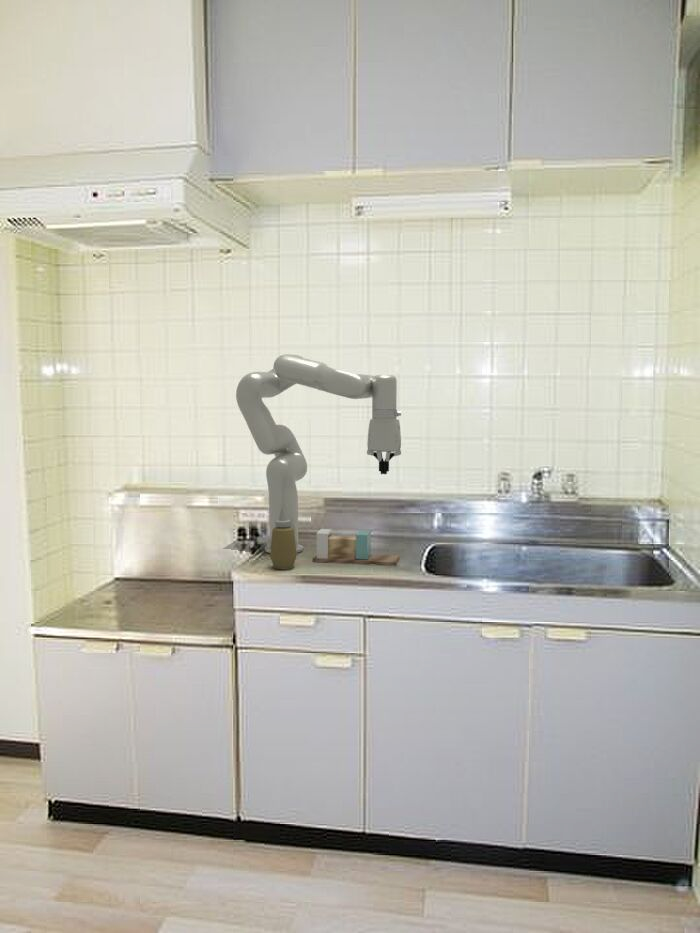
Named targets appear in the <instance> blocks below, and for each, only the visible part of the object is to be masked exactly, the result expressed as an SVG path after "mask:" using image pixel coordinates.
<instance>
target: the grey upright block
mask: <svg viewBox="0 0 700 933" xmlns="http://www.w3.org/2000/svg"><path fill="white" fill-rule="evenodd" d="M315 535H316V536H315V537H316V555H317V558H325V559H328V536H333V529H332V528H331V529H330V528H320V530H319V531H317V532H316V534H315Z"/></svg>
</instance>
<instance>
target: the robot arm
mask: <svg viewBox="0 0 700 933" xmlns="http://www.w3.org/2000/svg"><path fill="white" fill-rule="evenodd" d="M397 383H398V382H397V377H396V376H395V375H391V374H379V375H378V374H377V375H369V374H359V373H357V374H356V373H351V372H347V371H343V370H339V369H335V368H333V367H329V366H328V364H326V363H324V362H322V361H321V362H320V361H316V360H312V359H308V358H304V357H303V356H302V355H298V354H297V355H296V354H289V353H288V354H285V353H284V354H281V355H279V356H278V357H276V359H275V361H274V362H273V367H272V369H270V370H269V371H267V372H266V371H253V372H249V373H247V374H245V375H244V376H243V377H242V378H241V379H240V381H239V382H238V384H237V387H236V392H235V398H236V399H235V400H236V402H237V404H236V405H237V406H238V409H239V411H240V413H241V414H242V417H243V418H244V420H245V422H246V425H247V427H248V429H249V431H250V434H251V435H252V436H251V437H252V438H253V440H254V442H255V445H256V446H257V449H258V450H259V451H260V452H261V453H262V454H263V455H269V456H270V455H274V458H272V459H271V460H270V461H269V462H268V464H267V466H266V471H265V475H266V476H265V477H266V481H267V487H268V517H269V518H268V519H269V520H268V525H269V527H268V528H269V531H268V532H269V536H266V537H262V536H261V537H260V536H258V537H257V538H256V539H257V543H258V544H259V545H266V546H265V547H264V551H265V552H266V553H268V554H270V552H271V540H272V530H273V528H275V527H276V526H275V521H276V520H279V517H280V512H281V509H282V508H285V511H286V515H287V520H291V526H290V527H292V528H293V529H294V533H295V542H296V552H297V554H298V553H301V552H302V551H303V550H304V546H303V545H301V544H299V495H298V488H297V484H296V482H297V481H300V480H301V479H303V478H304V477H305V476H306V474H307V472H308V462H307V460H306V458H305V456H304V453H303V451H302V449H301V447H300V445H299V442H298V441H297V438H296V436H295V435H294V433H293V431H292V430H291V429H290V428H288V427H287V426H286V425H283V424H276V422H275V420H274V418H273V415H272V414H271V411H270V410H269V407H267V406H266V404H265V403H264V401H263V399H264V398H265V399H266V398H269V399H270V398H273V397H276V396H278V395H280V394H281V393H283V392H285V391H287V390H288V389H290V388H291V387H293V386H295V385H297V384H298V385H301V386H305V387H308V388H311V389H314V390H315V389H316V390H318V391H323V392H326V393H329V394H332V395H336V396H339V397H343V398H346V399H352V400H358V399H359V400H361V399H362V400H363V399H369V398H371V409H372V410H371V418H370V419H369V423H368V429H367V430H368V432H367V442H366V443H367V444H366V445H367V451H366V454H367V455H369V456H371V457H374V458H375V459H376V460H377V461H378V471H379V472H380V475H388V472H389V471H390V461H391V459H392V458H393V457H397V456H400V455H402V450H401V447H402V436H401V425H400V420H399V419H397V418H398V417H401V416H402V411H399V410H398V409H397V393H398V392H397V389H398V388H397ZM383 452H384V453H385V452H386V453H385V459H384V458H383Z"/></svg>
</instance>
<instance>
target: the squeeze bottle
mask: <svg viewBox="0 0 700 933" xmlns="http://www.w3.org/2000/svg"><path fill="white" fill-rule="evenodd" d="M275 526H276V527H275V528H273V530H272V540H271V552H270V553H269V557H270V560H271V563H272V566H273V568H274V569H277V570H290V569H293V568H294V566H295V562H296V560H297V556H298V555H297V554H298V553H297V552H296V542H295V533H294V529H293V528H292V527H290V526H291V520H287V515H286V511H285V508H282V509H281V512H280V517H279V520H276V521H275Z"/></svg>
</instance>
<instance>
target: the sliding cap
mask: <svg viewBox="0 0 700 933" xmlns="http://www.w3.org/2000/svg"><path fill="white" fill-rule="evenodd" d="M355 537H356V559H368V558H369V556H370V555H371V553H372V552H371V551H372V542H371V541H372V540H371V539H372V531H371V530H364V529H363V530H359V531H358V532H357V533H356V534H355Z"/></svg>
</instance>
